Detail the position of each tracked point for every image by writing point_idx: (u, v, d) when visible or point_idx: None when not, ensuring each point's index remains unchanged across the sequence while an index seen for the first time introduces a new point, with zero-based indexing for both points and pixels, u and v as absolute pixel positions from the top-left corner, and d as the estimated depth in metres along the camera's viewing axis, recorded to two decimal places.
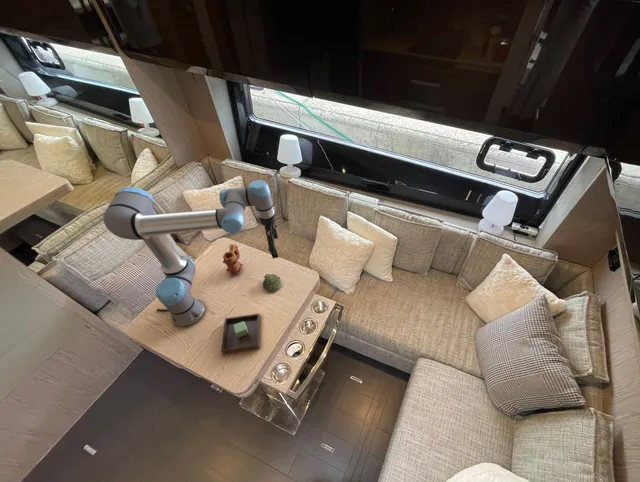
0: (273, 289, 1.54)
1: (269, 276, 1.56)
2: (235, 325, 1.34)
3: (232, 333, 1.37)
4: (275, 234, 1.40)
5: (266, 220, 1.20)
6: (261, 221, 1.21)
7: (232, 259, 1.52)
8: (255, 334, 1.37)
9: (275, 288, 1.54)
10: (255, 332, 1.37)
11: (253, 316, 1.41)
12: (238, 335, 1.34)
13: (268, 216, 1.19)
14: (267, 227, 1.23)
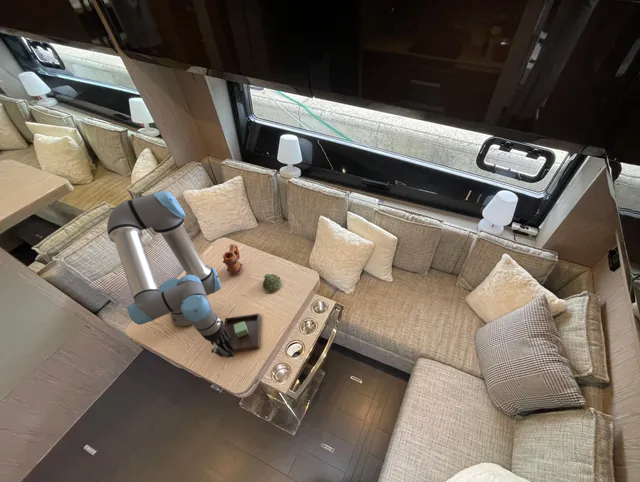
0: (273, 289, 1.54)
1: (269, 276, 1.56)
2: (235, 325, 1.34)
3: (232, 333, 1.37)
4: (230, 348, 1.15)
5: (209, 336, 0.97)
6: (203, 336, 0.97)
7: (232, 259, 1.52)
8: (255, 334, 1.37)
9: (275, 288, 1.54)
10: (255, 332, 1.37)
11: (253, 316, 1.41)
12: (238, 335, 1.34)
13: (211, 333, 0.95)
14: (212, 342, 0.99)
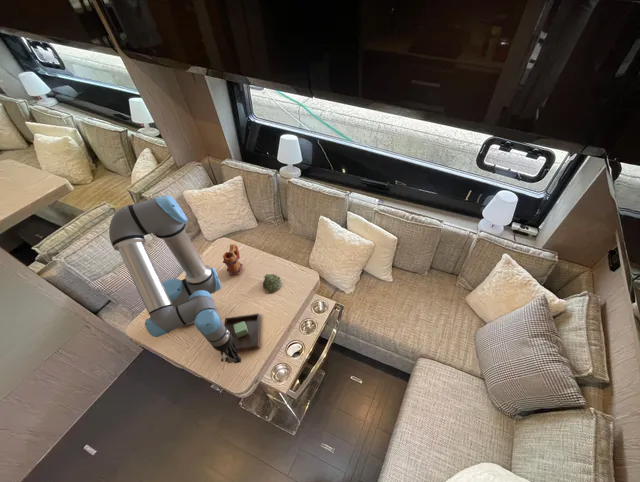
0: (273, 289, 1.54)
1: (269, 276, 1.56)
2: (235, 325, 1.34)
3: (232, 333, 1.37)
4: None
5: (219, 347, 1.05)
6: (213, 347, 1.05)
7: (232, 259, 1.52)
8: (255, 334, 1.37)
9: (275, 288, 1.54)
10: (255, 332, 1.37)
11: (253, 316, 1.41)
12: (238, 335, 1.34)
13: (221, 344, 1.03)
14: (221, 352, 1.07)
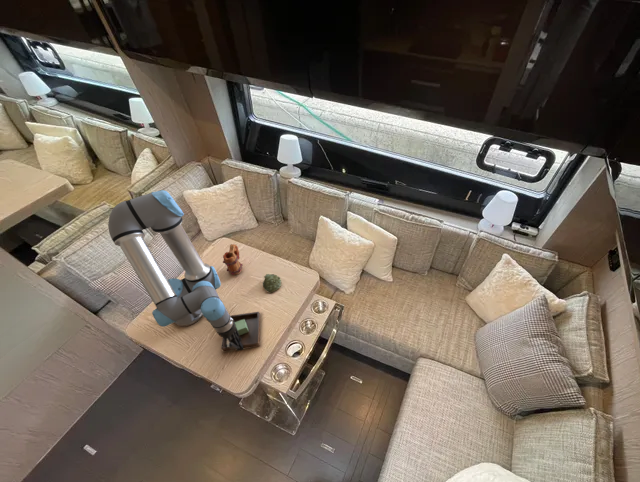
0: (273, 289, 1.54)
1: (269, 276, 1.56)
2: (235, 323, 1.35)
3: None
4: None
5: (223, 333, 1.11)
6: (218, 333, 1.12)
7: (232, 259, 1.52)
8: (255, 332, 1.37)
9: (275, 288, 1.54)
10: (255, 330, 1.38)
11: (253, 314, 1.42)
12: None
13: (225, 330, 1.10)
14: (225, 338, 1.14)
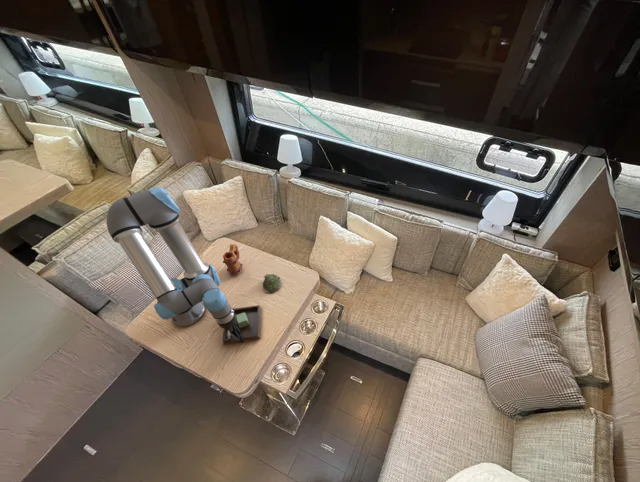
0: (273, 289, 1.54)
1: (269, 276, 1.56)
2: None
3: None
4: None
5: (224, 324, 1.13)
6: (219, 325, 1.14)
7: (232, 259, 1.52)
8: (255, 325, 1.40)
9: (275, 288, 1.54)
10: (255, 323, 1.41)
11: (254, 307, 1.44)
12: None
13: (226, 321, 1.12)
14: (226, 329, 1.16)
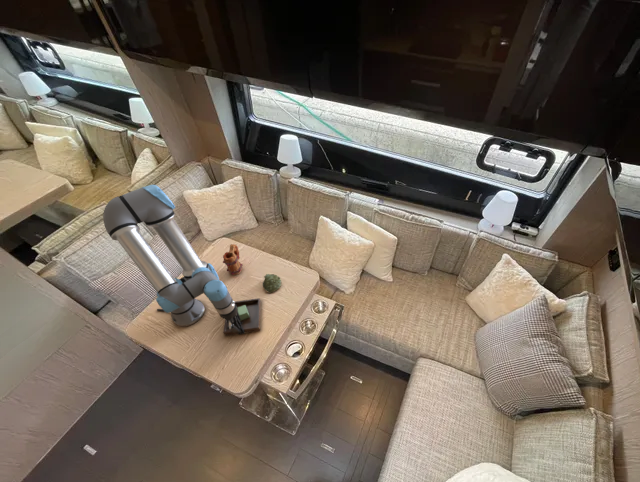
0: (273, 289, 1.54)
1: (269, 276, 1.56)
2: None
3: None
4: None
5: (225, 315, 1.16)
6: (220, 315, 1.17)
7: (232, 259, 1.52)
8: (256, 317, 1.43)
9: (275, 288, 1.54)
10: (256, 316, 1.43)
11: (254, 300, 1.47)
12: None
13: (227, 312, 1.15)
14: (227, 320, 1.19)
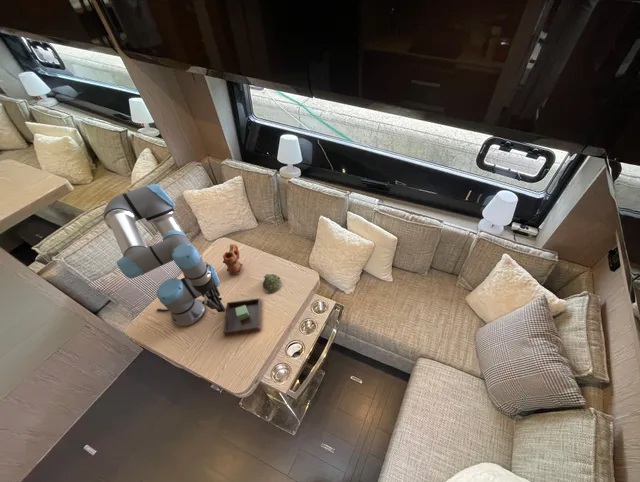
0: (273, 289, 1.54)
1: (269, 276, 1.56)
2: (237, 308, 1.40)
3: (234, 316, 1.43)
4: None
5: (200, 287, 1.01)
6: (194, 287, 1.02)
7: (232, 259, 1.52)
8: (256, 317, 1.43)
9: (275, 288, 1.54)
10: (256, 316, 1.43)
11: (254, 300, 1.47)
12: (239, 318, 1.40)
13: (201, 283, 1.00)
14: (203, 293, 1.04)
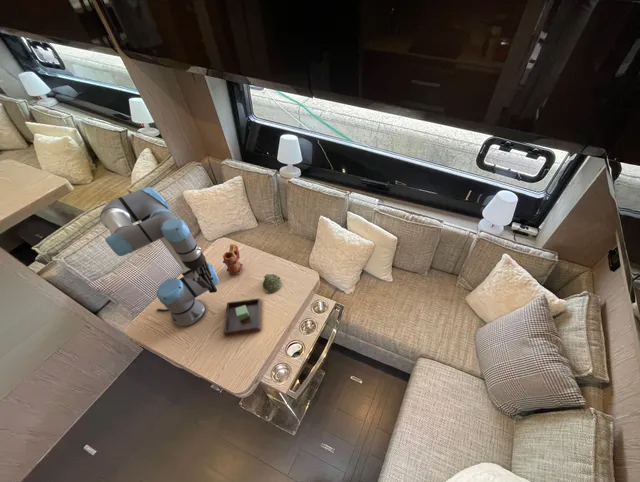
0: (273, 289, 1.54)
1: (269, 276, 1.56)
2: (237, 308, 1.40)
3: (234, 316, 1.43)
4: None
5: (190, 263, 1.02)
6: (184, 264, 1.03)
7: (232, 259, 1.52)
8: (256, 317, 1.43)
9: (275, 288, 1.54)
10: (256, 316, 1.43)
11: (254, 300, 1.47)
12: (239, 318, 1.40)
13: (191, 259, 1.01)
14: (193, 270, 1.05)
